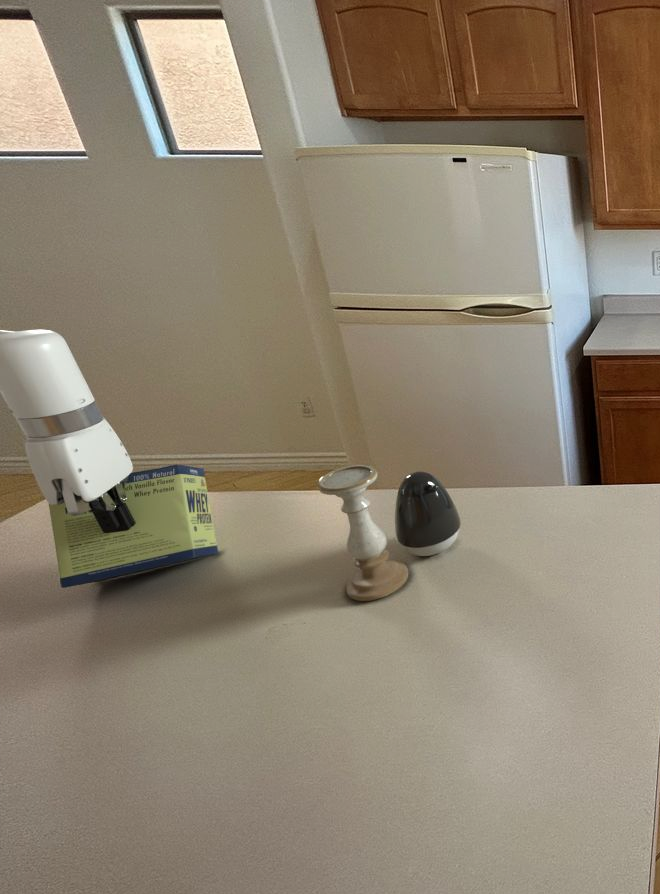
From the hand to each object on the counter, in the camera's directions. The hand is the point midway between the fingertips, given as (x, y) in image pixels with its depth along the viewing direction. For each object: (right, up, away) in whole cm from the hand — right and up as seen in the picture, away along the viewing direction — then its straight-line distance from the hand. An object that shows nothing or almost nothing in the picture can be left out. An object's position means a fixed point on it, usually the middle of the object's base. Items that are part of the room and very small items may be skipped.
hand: (120, 528), depth 84 cm
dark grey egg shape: (+40, -7, +16) cm, 43 cm away
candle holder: (+35, -11, +7) cm, 38 cm away
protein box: (-1, -8, +5) cm, 9 cm away
